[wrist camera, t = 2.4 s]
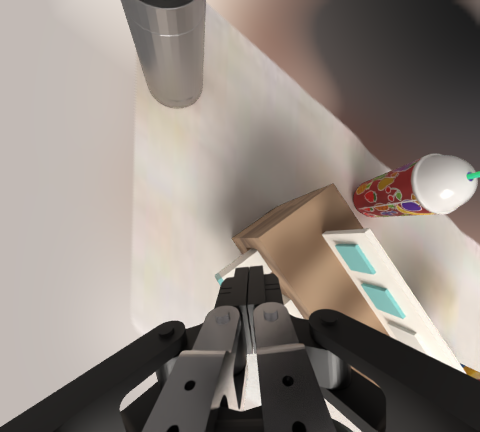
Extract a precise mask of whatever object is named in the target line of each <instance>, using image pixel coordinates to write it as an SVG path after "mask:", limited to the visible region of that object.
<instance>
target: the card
mask: <svg viewBox="0 0 480 432" xmlns="http://www.w3.org/2000/svg"><path fill="white" fill-rule="evenodd" d="M322 236H323V237H324V239H325V240H326V242H327V243H328V245H329V246H330V248H331V249H332V251H333V252H334V254H335V255H336V257H337V258H338V260H339V261H340V262H341V264H342V265H343V267H344V268H345V270H346V271H347V273H348V274H349V276H350V277H351V279H352V280H353V282H354V283H355V285H356V286H357V288H358V289H359V291H360V292H361V294H362V295H363V297H364V298H365V300H366V301H367V303H368V304H369V306H370V307H371V309H372V310H373V312H374V313H375V315H376V316H377V318H378V319H379V320H380V322H381V323H382V325H383V326H384V328H385V329H386V331H387V332H388V334H389V335H390V337H392V338H394V339H396V340H398V341H400V342H402V343H404V344H406V345H408V346H410V347H412V348H414V349H416V350H418V351H420V352H422V353H424V354H426V355H429V356H431V357H433V358H435V359H437V360H439V361H441V362H443V363H445V364H447V365H449V366H451V367H453V368H455V369H457V370H459V371H461V372H463V373H465V374H466V372H465V371H464V369H463V368H462V366H461V365H460V363H459V362H458V360H457V359H456V357H455V356H454V354H453V353H452V351H451V350H450V348H449V347H448V345H447V344H446V342H445V341H444V339H443V338H442V336H441V335H440V333H439V332H438V330H437V329H436V327H435V326H434V324H433V323H432V321H431V320H430V318H429V317H428V315H427V314H426V312H425V311H424V309H423V308H422V306H421V305H420V303H419V302H418V300H417V299H416V297H415V296H414V294H413V293H412V291H411V290H410V288H409V287H408V285H407V284H406V282H405V281H404V279H403V278H402V276H401V275H400V273H399V272H398V270H397V269H396V267H395V266H394V264H393V263H392V261H391V260H390V258H389V257H388V255H387V254H386V252H385V251H384V249H383V248H382V246H381V245H380V243H379V242H378V240H377V239H376V237H375V236H374V234H373V233H372V231H371V230H370V229H354V230H338V231H326V232H324V233H323V234H322Z"/></svg>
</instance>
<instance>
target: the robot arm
mask: <svg viewBox="0 0 480 432" xmlns="http://www.w3.org/2000/svg"><path fill="white" fill-rule="evenodd" d="M121 2H122V6H123V9H124V12H125V15H126V18H127V22H128V25H129V28H130V31H131V34H132V37H133V41H134V43H135V47H136V50H137V53H138V56H139V60H140V63H141V66H142V69H143V73H144V76H145V79H146V82H147V85H148V88H149V90H150V92H151V94H152V95H153V97H154V98H155V99H156V100H157V101H158V102H160V103H162V104H163V105H165V106H168V107H172V108H183V107H187V106H189V105H191V104H193V103H194V102H195V101H197V99H198V98H199V97H200V94H201V92H202V85H203V62H204V36H205V10H206V0H121ZM253 347H254V354H257V363H258V373H259V383H260V393H261V403H262V406H259V407H255V408H252V409H249V410H246V411H244V401H245V394H246V385H247V377H248V366H247V360H246V358H247V354H253ZM351 366H352V367H353V368H355V369H356V370H358V371H359V372H361V373H362V374H364V375H365V376H367V377H368V378H370V379H371V380H373V381H374V382H375V383H376V384H377V385H378V386H379V387H378V386H377V385H375V384H374V383H372V382H371V381H369V380H368V379H366V378H365V377H363V376H362V375H361V374H359V373H358V372H356V371H355V370H353V369H352V368H351ZM154 372H156V375H157V379H158V382H156V383H155V384H154V385H153V386H152V387H151V388H149V389H148V390H147V391H146V392H144V393H143V394H142V395H141V396H140V397H138V398H137V399H136V400H135V401H134V402H132V403H131V404H130V405H129V406H128V407H126V408H125V409H124V410H122V411H121V412H120V410H119V408H120V404H121V402H122V400H123V398H124V397H125V396H126V394H128V393H129V392H130V391H131V390H132V389H134V388H135V387H136V386H137V385H139V384H140V383H141V382H143V381H144V380H145V379H146V378H148V377H149V376H150V375H152V374H153V373H154ZM324 398H325V399H326V400H327V401H328V402H329V403H330V404H332V405H333V406H334V407H335V408H336V409H337V410H338V411H340V412H341V413H342V414H343V415H344V416H345V417H346V418H347V419H349V420H350V421H351V422H352V423H353V424H354V425H355V426H356V427H358V428H359V429H360V430H361V431H362V432H480V381H479V380H477V379H475V378H473V377H471V376H469V375H467V374H465V373H463V372H461V371H459V370H457V369H455V368H453V367H451V366H449V365H447V364H445V363H443V362H441V361H439V360H437V359H435V358H433V357H431V356H429V355H426V354H424V353H422V352H420V351H418V350H416V349H414V348H412V347H410V346H408V345H406V344H404V343H402V342H400V341H398V340H396V339H394V338H392V337H390V336H388V335H386V334H384V333H382V332H380V331H378V330H376V329H374V328H371V327H369V326H367V325H365V324H363V323H361V322H359V321H357V320H355V319H353V318H351V317H349V316H347V315H345V314H343V313H341V312H339V311H336V310H332V309H320V310H316V311H314V312H313V313H311V315H310V316H309V320H308V319H301V318H297V317H294V316H292V315H290V314H289V312H288V310H287V308H286V307H285V306H284V303H283V298H282V293H281V289H280V283H279V278H278V277H277V276H276V275H275V274H274V273H272V274H264V271H263V265H261V266H250V269H249V267H239V268H235V273H234V277H228V278H226V279H225V280H224V281H223V282H222V283H221V287H220V290H219V294H218V297H217V301H216V304H215V308H214V309H213V310H212V311H210V312H209V313H208V314H207V316H206V318H205V321H204V323H202V324H200V325H197V326H194V327H191V328H188V329H185V325H184V324H183V323H182V322H180V321H169V322H165V323H163V324H161V325H159V326H157V327H156V328H154V329H153V330H151V331H149V332H148V333H146V334H145V335H143V336H142V337H140V338H139V339H137V340H135V341H134V342H132V343H131V344H129V345H128V346H126V347H124V348H123V349H121V350H120V351H118V352H117V353H115V354H114V355H112V356H110V357H109V358H107V359H106V360H104V361H103V362H101V363H100V364H98V365H96V366H95V367H93V368H92V369H90V370H89V371H87V372H85V373H84V374H83V375H81V376H79V377H78V378H76V379H75V380H73V381H72V382H70V383H68V384H67V385H65V386H64V387H62V388H61V389H59V390H57V391H56V392H54V393H53V394H51V395H50V396H48V397H47V398H45V399H44V400H42V401H40V402H39V403H37V404H36V405H34V406H33V407H31V408H29V409H28V410H26V411H25V412H23V413H22V414H20V415H18V416H17V417H15V418H14V419H12V420H11V421H9V422H8V423H6V424H4V425H3V426H1V427H0V432H353V431H352V430H350V429H349V428H348V427H346V426H344V425H343V424H341V423H340V422H338V421H336V420H334V419H332V418H331V416H330V413H329V410H328V408H327V405H326V402H325V400H324Z"/></svg>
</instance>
